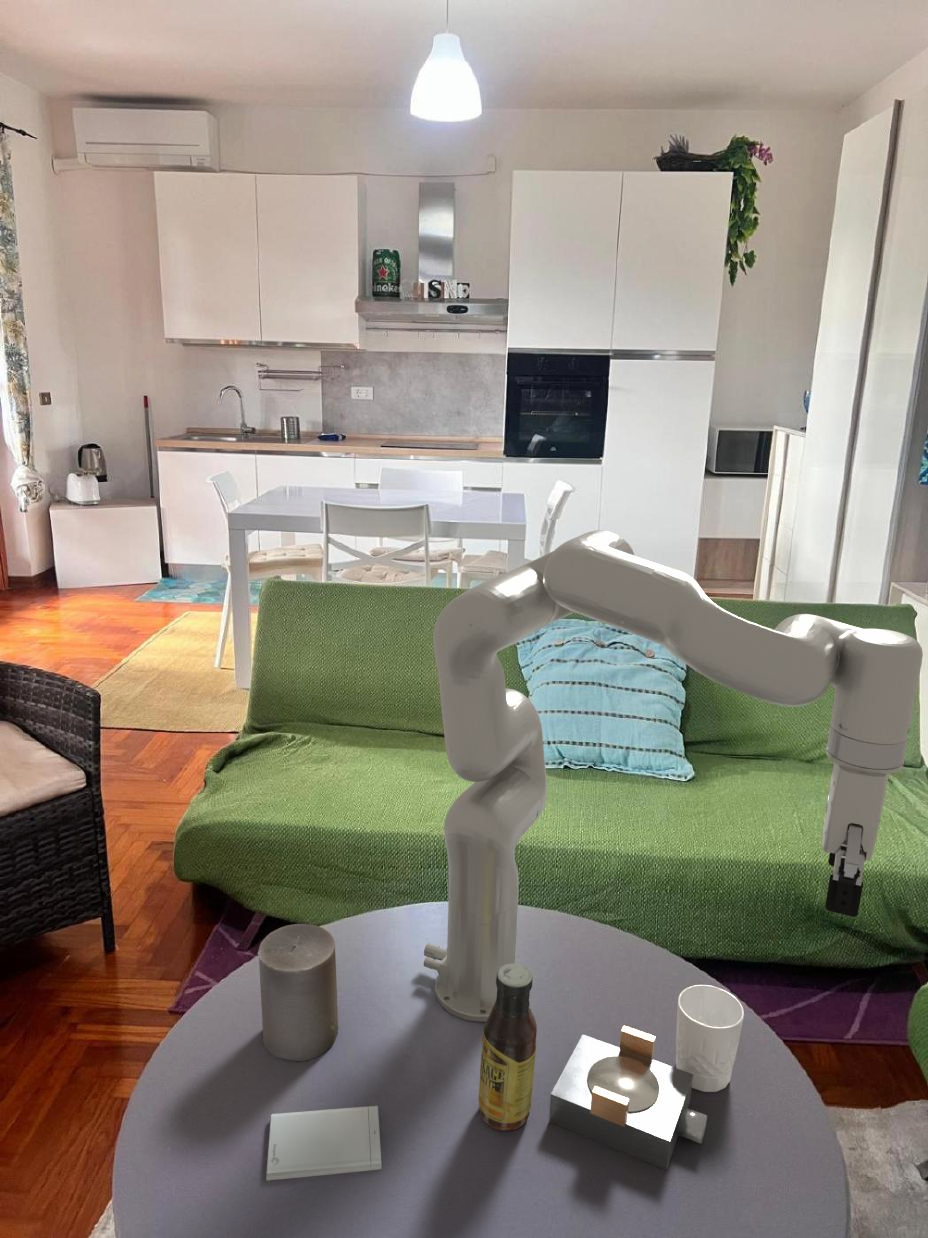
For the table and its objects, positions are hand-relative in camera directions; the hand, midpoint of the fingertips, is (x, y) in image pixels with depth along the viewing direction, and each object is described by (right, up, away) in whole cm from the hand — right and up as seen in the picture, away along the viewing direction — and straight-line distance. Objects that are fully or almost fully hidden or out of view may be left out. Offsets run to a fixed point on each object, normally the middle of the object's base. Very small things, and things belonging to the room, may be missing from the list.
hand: (841, 889), depth 100 cm
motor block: (-22, -29, +7) cm, 37 cm away
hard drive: (-58, -30, +3) cm, 65 cm away
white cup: (-12, -28, +15) cm, 33 cm away
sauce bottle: (-37, -29, +7) cm, 48 cm away
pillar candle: (-63, -25, +19) cm, 71 cm away
